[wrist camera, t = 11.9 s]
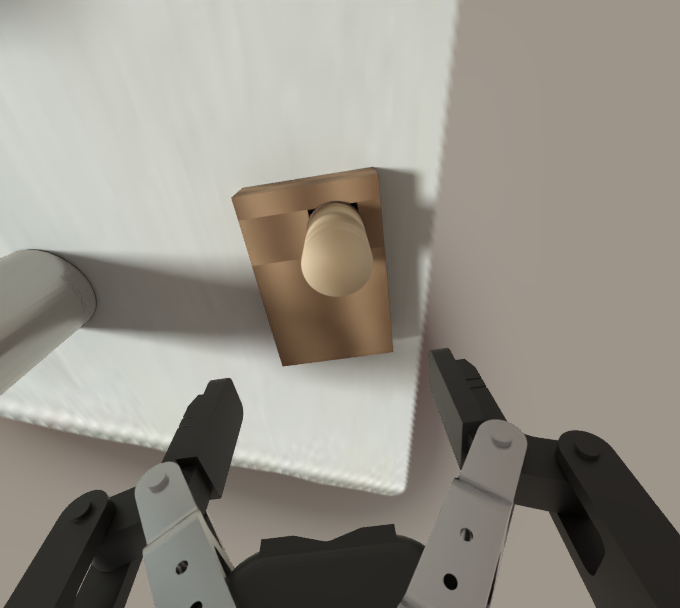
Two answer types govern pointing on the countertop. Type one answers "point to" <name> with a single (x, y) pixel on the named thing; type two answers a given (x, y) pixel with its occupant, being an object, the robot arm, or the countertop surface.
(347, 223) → the peg
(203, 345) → the countertop surface
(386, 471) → the countertop surface
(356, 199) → the board
